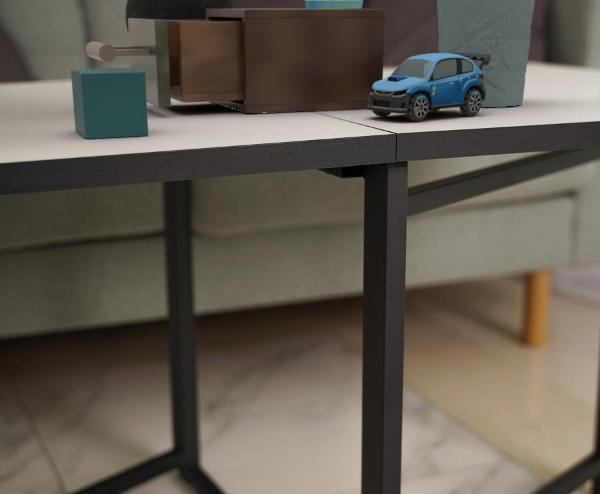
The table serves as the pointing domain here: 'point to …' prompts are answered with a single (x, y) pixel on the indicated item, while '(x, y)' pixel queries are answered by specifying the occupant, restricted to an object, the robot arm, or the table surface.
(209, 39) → the drawer
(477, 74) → the toy car
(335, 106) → the cabinet
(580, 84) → the table surface
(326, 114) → the table surface
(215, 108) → the table surface
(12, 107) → the table surface
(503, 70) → the grey-green crumpled block
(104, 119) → the block
